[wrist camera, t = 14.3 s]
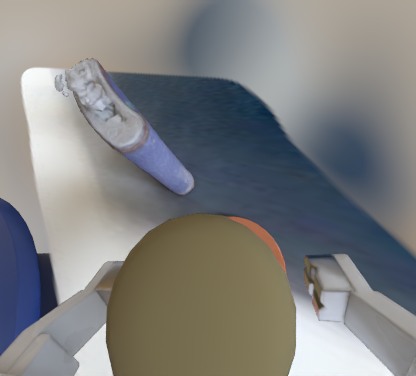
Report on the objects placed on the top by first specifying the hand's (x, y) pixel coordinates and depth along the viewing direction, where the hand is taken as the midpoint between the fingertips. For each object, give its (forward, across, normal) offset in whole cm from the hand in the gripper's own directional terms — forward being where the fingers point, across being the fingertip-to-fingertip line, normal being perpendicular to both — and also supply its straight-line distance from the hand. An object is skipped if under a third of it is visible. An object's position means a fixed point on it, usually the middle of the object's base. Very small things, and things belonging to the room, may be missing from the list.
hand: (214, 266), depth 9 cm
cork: (+4, 0, +5) cm, 6 cm away
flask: (+12, +6, -2) cm, 13 cm away
